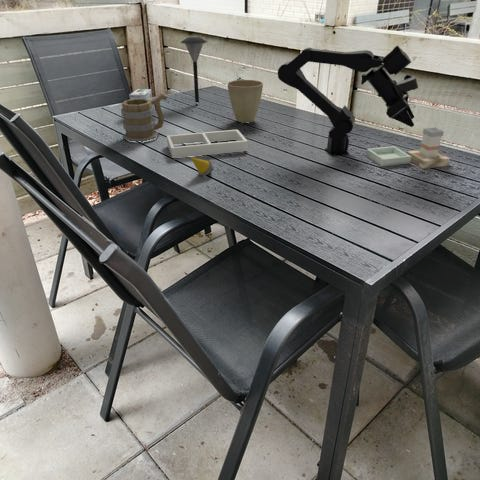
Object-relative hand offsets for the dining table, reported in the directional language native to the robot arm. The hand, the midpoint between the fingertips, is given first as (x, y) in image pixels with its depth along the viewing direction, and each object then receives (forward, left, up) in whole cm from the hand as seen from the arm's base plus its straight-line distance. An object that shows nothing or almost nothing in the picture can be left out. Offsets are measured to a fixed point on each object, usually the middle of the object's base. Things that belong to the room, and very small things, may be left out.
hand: (413, 122), depth 144 cm
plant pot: (-40, +59, -13) cm, 73 cm away
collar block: (+6, -4, -13) cm, 15 cm away
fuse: (+6, -4, -13) cm, 15 cm away
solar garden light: (-55, +92, -13) cm, 108 cm away
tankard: (-82, +50, -13) cm, 97 cm away
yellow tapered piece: (-69, +5, -13) cm, 71 cm away
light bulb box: (-82, +80, -13) cm, 116 cm away
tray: (-6, +2, -13) cm, 14 cm away
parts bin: (-63, +29, -13) cm, 71 cm away
